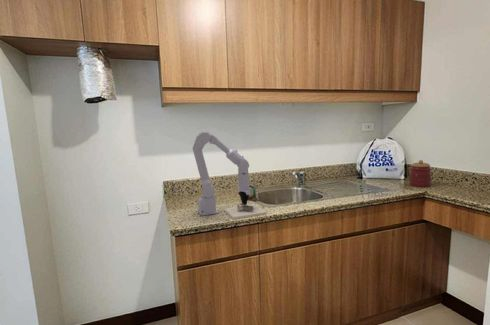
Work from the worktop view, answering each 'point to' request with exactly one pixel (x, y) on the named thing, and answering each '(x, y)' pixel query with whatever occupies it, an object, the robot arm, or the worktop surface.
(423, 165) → the canister
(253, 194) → the food container
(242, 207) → the dial lever
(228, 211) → the dial panel
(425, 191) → the worktop surface
